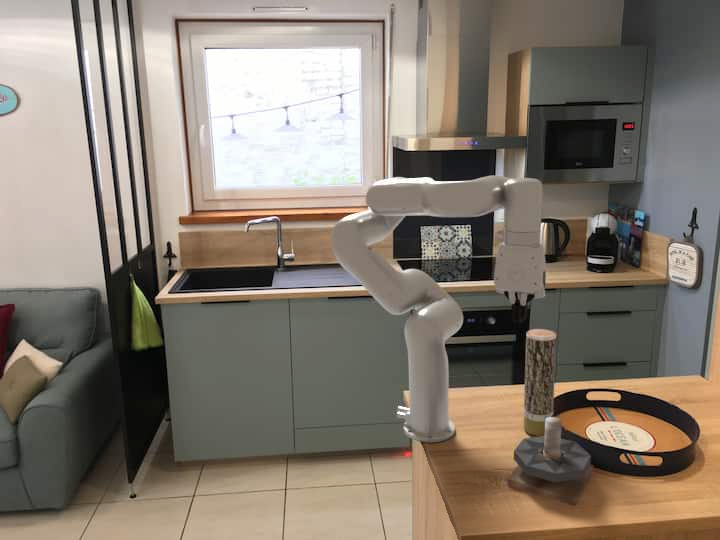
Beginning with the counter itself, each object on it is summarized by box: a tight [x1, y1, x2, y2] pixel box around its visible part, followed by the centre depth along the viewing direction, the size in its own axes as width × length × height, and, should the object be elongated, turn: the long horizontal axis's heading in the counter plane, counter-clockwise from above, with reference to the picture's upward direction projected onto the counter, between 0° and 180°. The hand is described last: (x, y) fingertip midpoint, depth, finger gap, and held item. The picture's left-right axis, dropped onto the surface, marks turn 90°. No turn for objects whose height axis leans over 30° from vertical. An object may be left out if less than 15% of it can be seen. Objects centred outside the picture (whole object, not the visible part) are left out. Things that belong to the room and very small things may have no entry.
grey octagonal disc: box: [513, 436, 592, 482], centre depth 135 cm, size 14×14×2 cm
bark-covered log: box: [523, 328, 557, 437], centre depth 153 cm, size 7×7×25 cm
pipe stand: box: [507, 416, 594, 506], centre depth 134 cm, size 14×14×14 cm
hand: (518, 320), depth 139 cm, fingers closed
